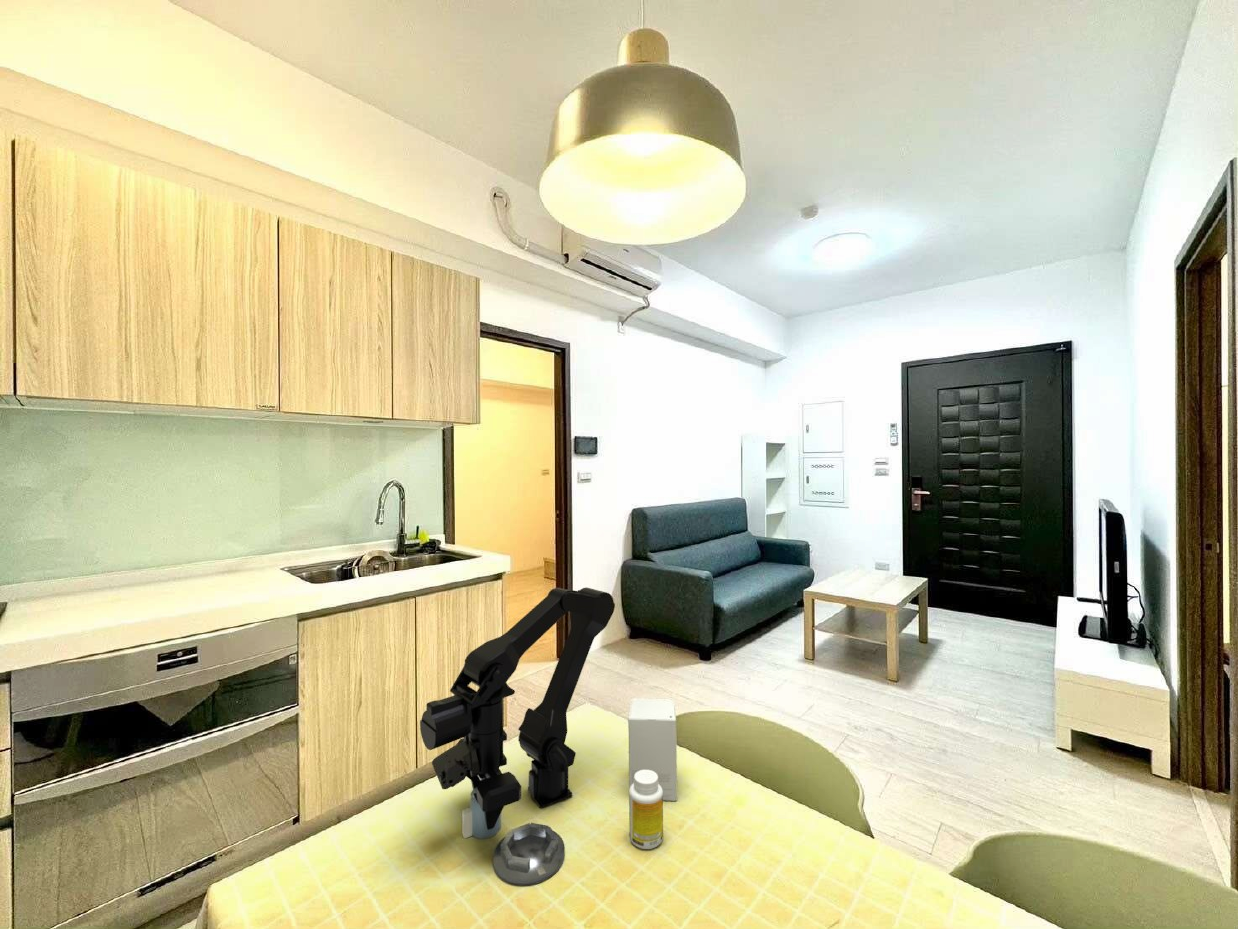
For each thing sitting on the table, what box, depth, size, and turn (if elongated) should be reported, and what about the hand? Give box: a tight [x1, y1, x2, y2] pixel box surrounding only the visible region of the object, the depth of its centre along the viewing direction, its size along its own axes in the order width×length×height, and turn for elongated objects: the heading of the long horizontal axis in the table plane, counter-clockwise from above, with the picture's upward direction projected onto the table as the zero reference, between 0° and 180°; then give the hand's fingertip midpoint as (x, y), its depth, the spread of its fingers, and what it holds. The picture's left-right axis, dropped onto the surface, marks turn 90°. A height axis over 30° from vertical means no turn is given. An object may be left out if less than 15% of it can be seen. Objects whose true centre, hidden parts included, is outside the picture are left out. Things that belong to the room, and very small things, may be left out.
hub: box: [492, 822, 566, 887], centre depth 80 cm, size 11×11×2 cm
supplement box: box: [627, 697, 678, 802], centre depth 98 cm, size 9×9×15 cm
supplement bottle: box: [628, 770, 664, 850], centre depth 84 cm, size 6×6×10 cm
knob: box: [461, 787, 502, 840], centre depth 86 cm, size 6×5×6 cm
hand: (485, 819), depth 86 cm, fingers closed on knob, 5 cm apart
